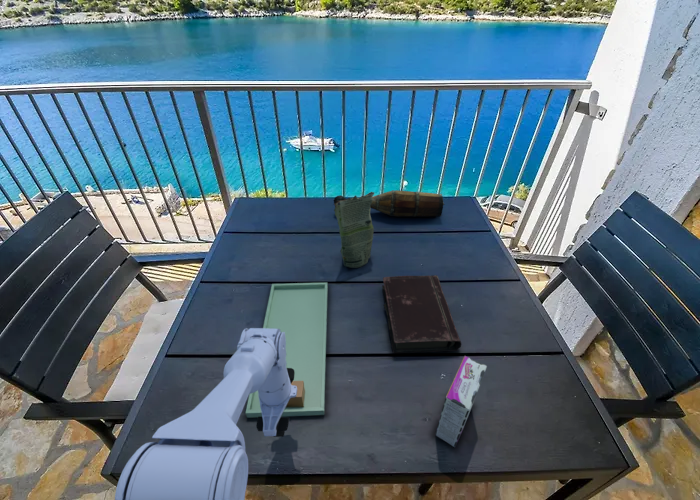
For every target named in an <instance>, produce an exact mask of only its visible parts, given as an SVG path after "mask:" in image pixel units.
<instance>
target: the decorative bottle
mask: <svg viewBox="0 0 700 500" xmlns="http://www.w3.org/2000/svg"><path fill="white" fill-rule="evenodd" d="M352 198H353V197H347V198H346V197H345V196H344V195H337V196H335V197H334V198H333V204H332V206H333V205H334V204H336V203H338V202H339V201H342V200H351V199H352ZM359 198H360V197H357V199H359ZM444 205H446V204H445V202H444V196H443V193H433V192H424V191H410V190H409V191H408V190H398V189H397V190H394V189H393V190H392V189H391V191H385V192H383V193H379V194H377V195H373V199H372V203H371V205H370V209H371V210H372V209H373V210H375V211H378V212H380V213H382V214H385V215H387V216H390V217H416V218H417V217H422V218H423V217H424V218H425V217H441V216H442V215H443V210H444ZM334 206H335V205H334Z"/></svg>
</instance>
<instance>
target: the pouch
mask: <svg viewBox="0 0 700 500" xmlns="http://www.w3.org/2000/svg"><path fill="white" fill-rule="evenodd" d="M373 196H375V191H374V192H373V191H370V192H368V193H367V194H365V195H361V196H360V197H358V196H357V195H354V196H353V197H351V198H352V199H351V200H342V201H339V202H338V203H336V204H334V203H333V204H334V209H333V211H334V216H335V217H336V220H337V225H338V228H339V230H338V232H339V236H340V243H341V244H340V245H341V248H340V251H339V252H340V254H341V258H342V261H343V266H344V267H347V268H353V269H354V268H361V267H363V266H365V265H367V264H368V261H369V259H370V258H371V255H372V254H371V253H372V247H373V241H374V232H375V229H374V225H373V221H372V217H371V208H370V205H371V203H372V199H373ZM357 198H359V199H357Z"/></svg>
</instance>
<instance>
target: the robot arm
mask: <svg viewBox="0 0 700 500" xmlns="http://www.w3.org/2000/svg"><path fill="white" fill-rule="evenodd" d="M286 363H287V362H286V337H285V332H281V331H280V329H270V328H263V327H250V328H247V327H245V328H244V329H243V330H242V332H241V334H240V337H239V341H238V343H237V345H236V351H235V352H234V353H233V354H232V356H231V357H230V358H229V359H228V361H227V362H226V364H225V365H224V367H223V379H221V381H220V382H218V384H216V386H215V387H214V388H212V390H211V391H210V392H209V393H208V394H207V395H206V396H205V397H204V398H203V399H202V400H201V401H200V402H199V403H198V404H197V405H196V406H195V407H194V408H193V409H192V410H190V411H189V412H186V413H185V414H182V415H181V416H179V417H177V418H175V419H173V420H171V421H169V422H166V423H165V424H163V425H161V426H160V427H158V428H157V430H156V431H155V432H154V434H153V435H152V436H151V439H159V441H158V442H157V441H149V442H145V443H144V444H142V445H141V446H140V447H139V448H138V449H137V450H136V451H135V452H134V453H133V454H132V456H130V458H129V459H128V461H127V462H126V464H125V465H124V468H123V469H122V471H121V474H120V476H119V479H118V482H117V484H116V489H115V494H114V500H246V490H247V485H248V478H249V457H248V454H247V453H246V442H245V441H246V440H245V437H244V434H243V432H242V431H241V429H240V427H238V425H237V424H238V422H239V420H240V417H241V415H242V412H243V410H244V408H245V405H246V404H247V403H246V402H247V401H248V399H249V394H251V393H254V392H256V391H257V390H258V396H259V402H260V407H261V413H262V416H258V417H257V420H256V424H255V425H256V430H257V432H262V433H263V436H264V437H273V438H280V437H284V436H285V432H287V431H288V428H289V421H290V416H281V415H282V413H283V411H284V409H285V407H286V405H287V403H288V401H289V399H290V398H294V397H296V395H297V386H293V385H291V383H292V382H293V380H294V374H295V372H294V369H292V368H286Z"/></svg>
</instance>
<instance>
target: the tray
mask: <svg viewBox="0 0 700 500" xmlns="http://www.w3.org/2000/svg"><path fill="white" fill-rule="evenodd" d="M328 286H329V285H328V282H297V283H296V282H295V283H293V282H291V283H272V284H271V287H270V291H269V297H268V301H267V306H266V310H265V315H264V321H263V325H262V328H270V329H280V331H281V332H285V337H286V362H287V363H286V368H292V369H294V372H295V374H294V380H293V381H304V387H305V398H304V407H285V409H284V411H283V413H282V415H281V417H304V416H305V417H307V416H308V417H309V416H325V408H326V407H325V406H326V399H325V398H326V369H327V367H326V366H327V333H328V332H327V329H328V328H327V327H328V326H327V325H328V324H327V323H328V289H329V288H328ZM245 408H246V409H245V416H246V418H250V419H252V418H258V416H262V413H261V407H260V402H259V396H258V390H257V391H256V392H254V393H251V394H249V395H248V398H247V403H246V407H245Z"/></svg>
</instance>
